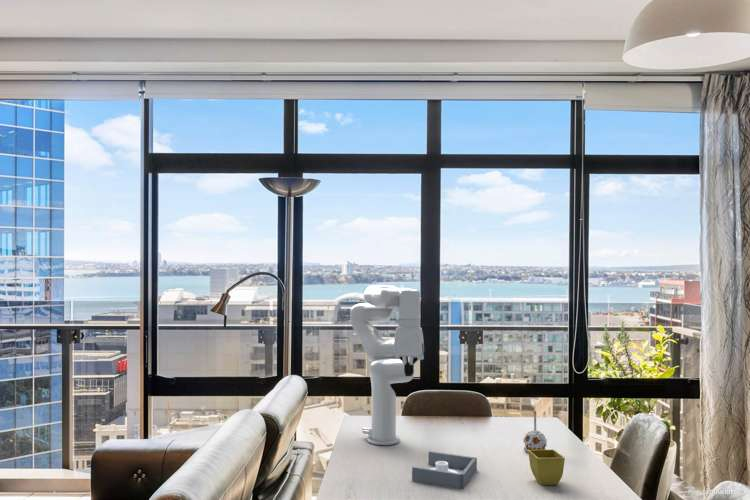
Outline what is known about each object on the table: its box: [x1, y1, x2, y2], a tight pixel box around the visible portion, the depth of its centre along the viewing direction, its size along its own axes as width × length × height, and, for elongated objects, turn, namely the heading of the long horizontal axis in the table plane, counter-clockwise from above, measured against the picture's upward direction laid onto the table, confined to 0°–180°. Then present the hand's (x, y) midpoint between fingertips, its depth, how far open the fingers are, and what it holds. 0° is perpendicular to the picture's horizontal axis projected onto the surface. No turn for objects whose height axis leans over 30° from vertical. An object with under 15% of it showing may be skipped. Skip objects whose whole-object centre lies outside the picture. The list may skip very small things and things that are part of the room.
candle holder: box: [429, 461, 459, 473], centre depth 180 cm, size 12×12×4 cm
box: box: [411, 450, 478, 490], centre depth 180 cm, size 16×18×4 cm
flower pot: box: [527, 448, 566, 486], centre depth 175 cm, size 9×9×9 cm
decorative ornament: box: [523, 410, 547, 453], centre depth 205 cm, size 8×8×15 cm
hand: (408, 375), depth 197 cm, fingers closed
